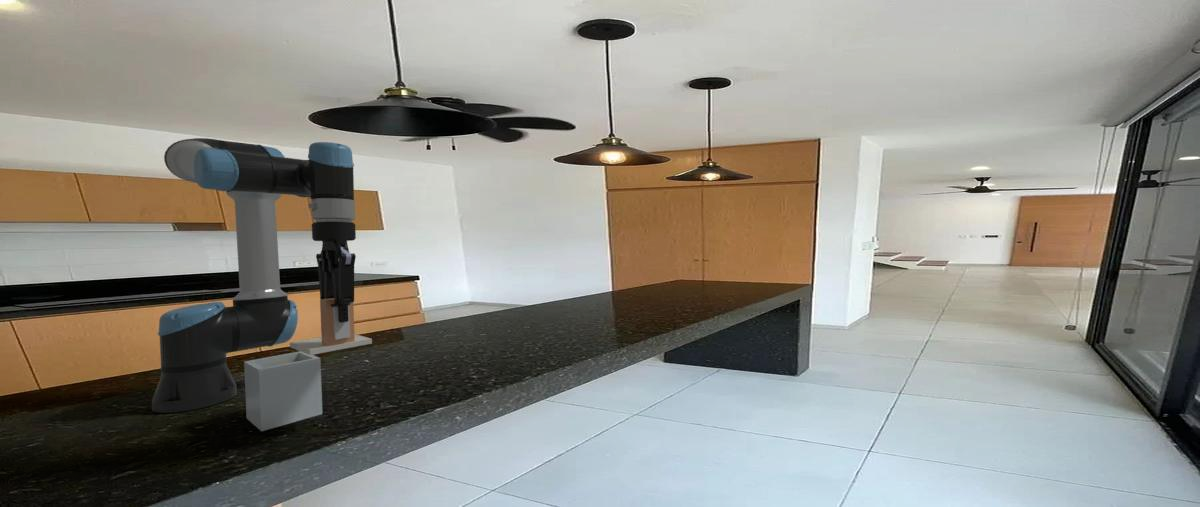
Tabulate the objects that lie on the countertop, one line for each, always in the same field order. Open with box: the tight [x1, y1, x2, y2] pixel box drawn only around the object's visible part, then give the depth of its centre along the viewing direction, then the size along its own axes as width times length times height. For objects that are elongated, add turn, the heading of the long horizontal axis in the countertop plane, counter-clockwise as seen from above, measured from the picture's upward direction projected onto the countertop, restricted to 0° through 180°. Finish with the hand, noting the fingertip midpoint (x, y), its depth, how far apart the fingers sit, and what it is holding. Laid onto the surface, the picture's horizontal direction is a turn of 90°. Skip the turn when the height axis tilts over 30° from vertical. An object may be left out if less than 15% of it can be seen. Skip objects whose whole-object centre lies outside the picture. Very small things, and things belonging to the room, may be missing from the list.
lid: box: [289, 298, 373, 356], centre depth 91 cm, size 11×11×10 cm
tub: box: [243, 351, 323, 432], centre depth 96 cm, size 11×11×12 cm
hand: (338, 336), depth 89 cm, fingers closed on lid, 3 cm apart
